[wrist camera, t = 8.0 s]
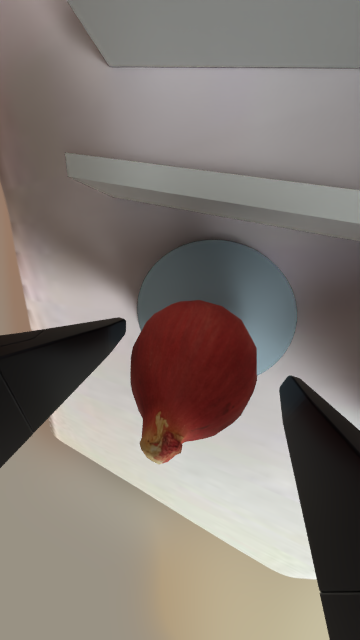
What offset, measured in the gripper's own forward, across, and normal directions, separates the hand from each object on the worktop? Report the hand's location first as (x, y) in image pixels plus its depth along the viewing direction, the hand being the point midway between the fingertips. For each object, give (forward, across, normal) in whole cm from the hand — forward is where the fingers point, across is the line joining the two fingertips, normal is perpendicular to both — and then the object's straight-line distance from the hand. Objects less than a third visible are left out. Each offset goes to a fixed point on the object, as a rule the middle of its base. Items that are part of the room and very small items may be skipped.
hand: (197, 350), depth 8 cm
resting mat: (+4, 0, 0) cm, 4 cm away
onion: (+3, 0, 0) cm, 3 cm away
